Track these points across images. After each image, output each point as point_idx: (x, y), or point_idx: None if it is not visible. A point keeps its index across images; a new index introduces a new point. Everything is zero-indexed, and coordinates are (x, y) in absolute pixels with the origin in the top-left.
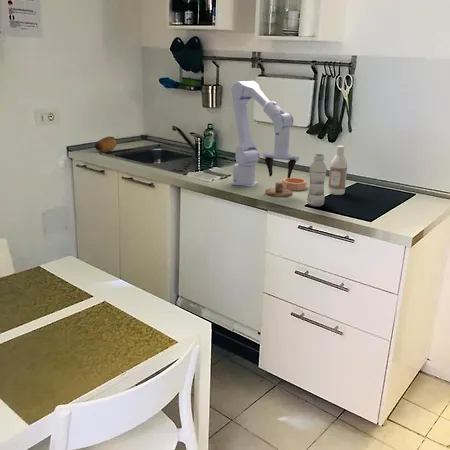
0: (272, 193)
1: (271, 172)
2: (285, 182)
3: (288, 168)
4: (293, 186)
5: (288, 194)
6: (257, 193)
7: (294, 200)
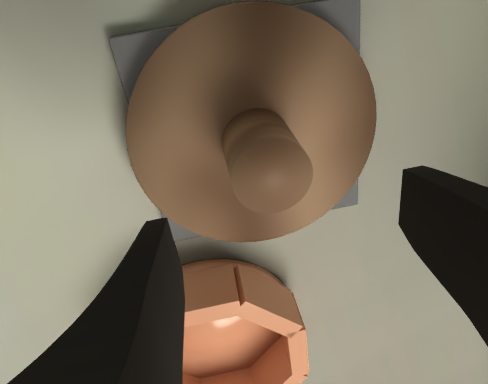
0: (284, 36)
1: (429, 220)
2: (266, 306)
3: (136, 313)
4: (186, 291)
5: (130, 99)
6: (429, 51)
7: (25, 25)
